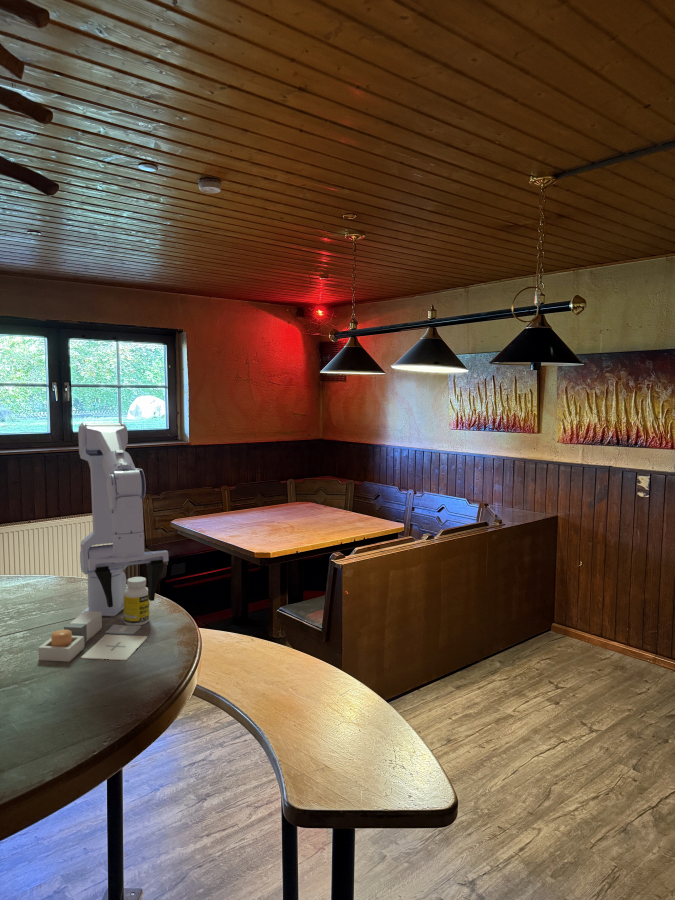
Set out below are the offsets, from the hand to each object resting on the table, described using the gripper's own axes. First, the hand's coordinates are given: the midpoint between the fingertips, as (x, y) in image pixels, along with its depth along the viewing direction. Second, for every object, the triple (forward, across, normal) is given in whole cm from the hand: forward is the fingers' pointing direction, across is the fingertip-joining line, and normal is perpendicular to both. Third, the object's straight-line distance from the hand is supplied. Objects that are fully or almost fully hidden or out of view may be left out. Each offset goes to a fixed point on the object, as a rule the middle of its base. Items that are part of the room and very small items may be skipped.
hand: (131, 603), depth 116 cm
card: (+9, +1, +16) cm, 18 cm away
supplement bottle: (+9, +4, +19) cm, 22 cm away
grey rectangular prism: (+9, -7, +16) cm, 20 cm away
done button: (+9, -12, +9) cm, 17 cm away
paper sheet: (+10, -2, +7) cm, 13 cm away
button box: (+10, -12, +9) cm, 18 cm away
